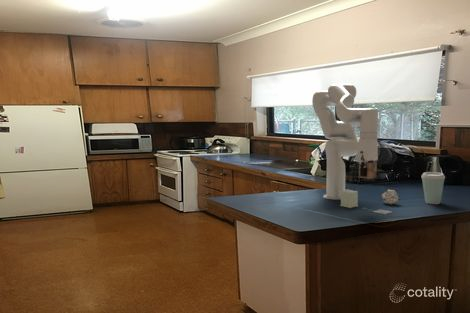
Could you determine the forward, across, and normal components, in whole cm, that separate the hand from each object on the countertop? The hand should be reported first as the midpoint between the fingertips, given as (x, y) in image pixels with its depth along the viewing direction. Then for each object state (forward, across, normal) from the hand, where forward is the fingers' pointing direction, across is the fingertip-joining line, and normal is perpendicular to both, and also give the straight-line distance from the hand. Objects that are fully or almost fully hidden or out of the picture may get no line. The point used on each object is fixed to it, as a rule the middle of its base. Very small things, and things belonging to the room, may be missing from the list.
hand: (367, 175), depth 180 cm
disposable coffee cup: (+17, -39, +12) cm, 44 cm away
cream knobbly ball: (+17, -19, +1) cm, 25 cm away
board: (+16, 0, -1) cm, 16 cm away
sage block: (+16, 0, -9) cm, 18 cm away
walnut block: (+1, 0, 0) cm, 1 cm away
